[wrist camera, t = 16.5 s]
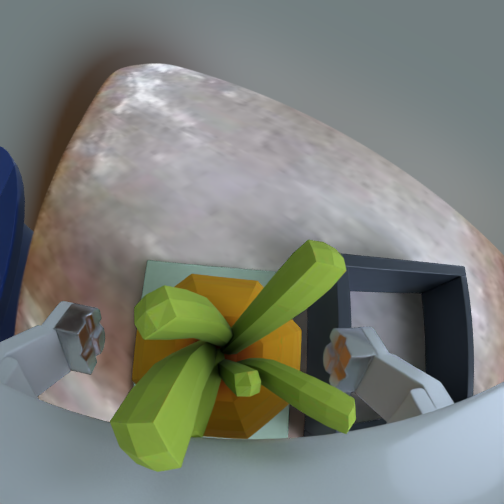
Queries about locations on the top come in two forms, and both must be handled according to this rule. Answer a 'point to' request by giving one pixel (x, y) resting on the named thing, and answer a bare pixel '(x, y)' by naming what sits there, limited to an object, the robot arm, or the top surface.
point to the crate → (435, 320)
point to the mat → (177, 272)
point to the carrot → (225, 360)
